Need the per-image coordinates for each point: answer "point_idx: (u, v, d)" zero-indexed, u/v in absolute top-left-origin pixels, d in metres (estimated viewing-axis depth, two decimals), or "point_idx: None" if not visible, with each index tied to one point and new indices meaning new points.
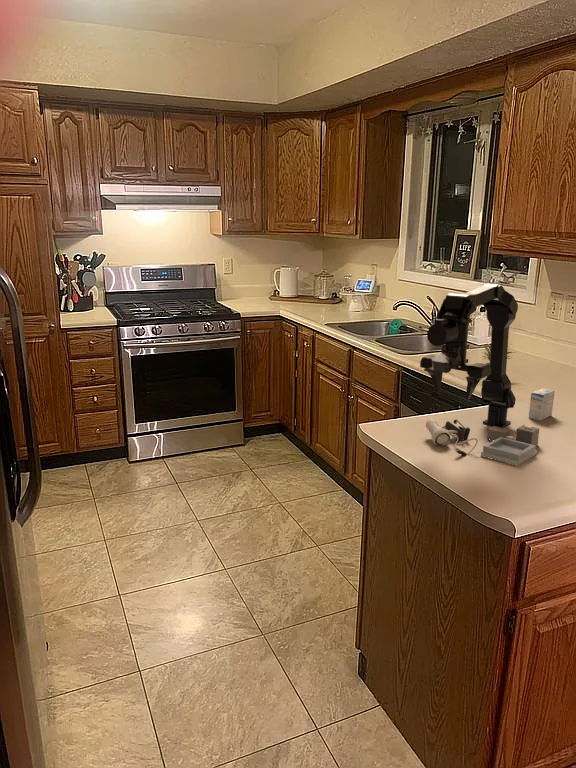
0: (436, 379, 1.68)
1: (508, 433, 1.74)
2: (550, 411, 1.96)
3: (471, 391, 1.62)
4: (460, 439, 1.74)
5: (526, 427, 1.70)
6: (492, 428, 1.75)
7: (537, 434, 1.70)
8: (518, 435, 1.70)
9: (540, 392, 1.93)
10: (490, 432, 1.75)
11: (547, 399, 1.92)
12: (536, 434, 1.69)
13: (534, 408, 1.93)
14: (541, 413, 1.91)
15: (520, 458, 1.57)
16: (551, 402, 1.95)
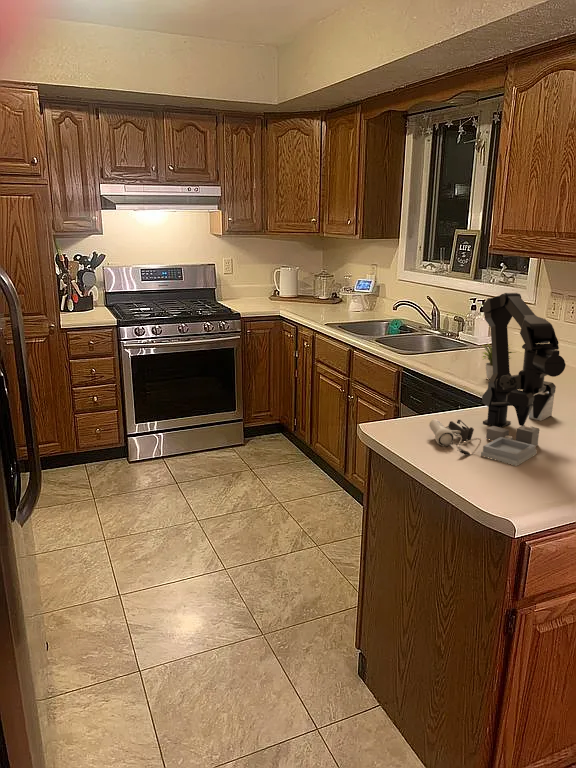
0: (534, 403, 1.73)
1: (507, 433, 1.74)
2: (550, 411, 1.96)
3: (520, 417, 1.65)
4: (463, 439, 1.74)
5: (526, 427, 1.70)
6: (491, 428, 1.75)
7: (537, 434, 1.70)
8: (518, 435, 1.70)
9: None
10: (489, 432, 1.75)
11: None
12: (536, 434, 1.69)
13: None
14: (541, 413, 1.91)
15: (520, 458, 1.57)
16: (551, 402, 1.95)
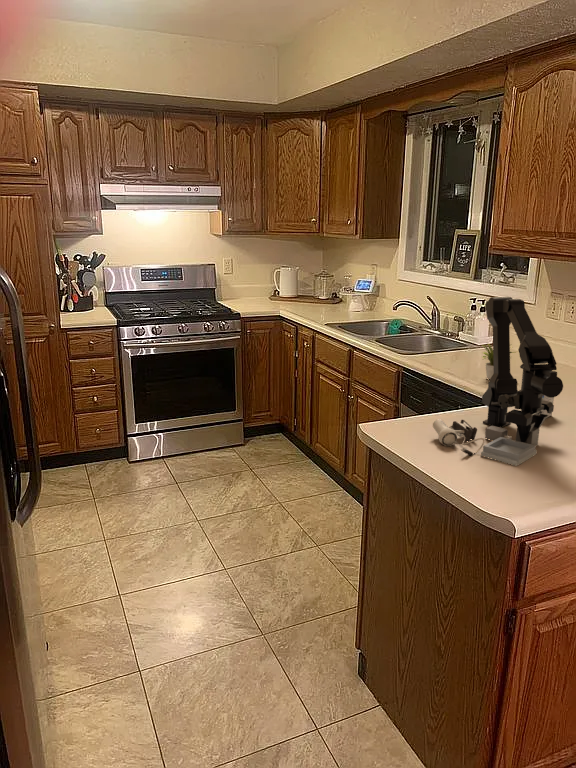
0: None
1: (506, 432, 1.74)
2: None
3: (522, 435, 1.68)
4: (467, 439, 1.74)
5: None
6: (490, 428, 1.76)
7: (537, 434, 1.70)
8: (518, 435, 1.70)
9: None
10: (488, 432, 1.75)
11: (547, 399, 1.92)
12: (536, 434, 1.69)
13: None
14: None
15: (520, 458, 1.57)
16: None
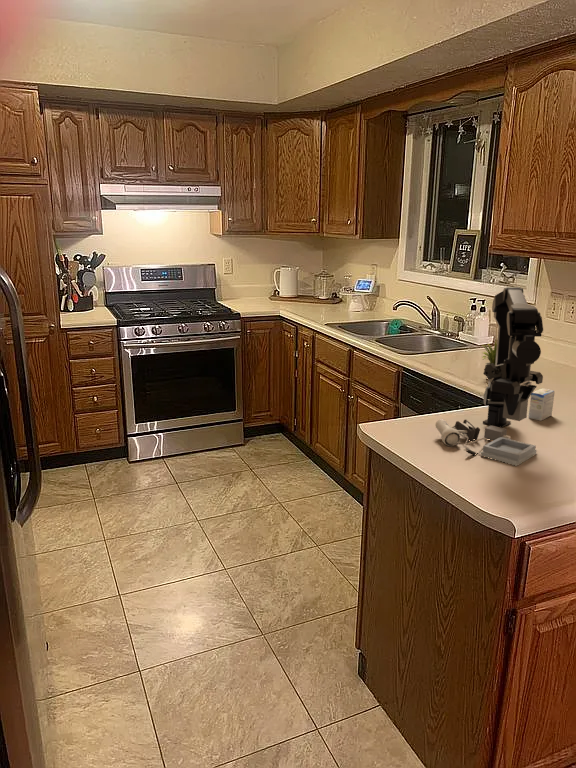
0: None
1: (505, 432, 1.74)
2: (550, 411, 1.96)
3: (509, 406, 1.58)
4: (470, 439, 1.74)
5: None
6: (489, 427, 1.76)
7: (526, 405, 1.60)
8: (506, 407, 1.60)
9: (540, 392, 1.93)
10: (487, 431, 1.75)
11: (547, 399, 1.92)
12: (525, 405, 1.59)
13: (534, 408, 1.93)
14: (541, 413, 1.91)
15: (520, 458, 1.57)
16: (551, 402, 1.95)
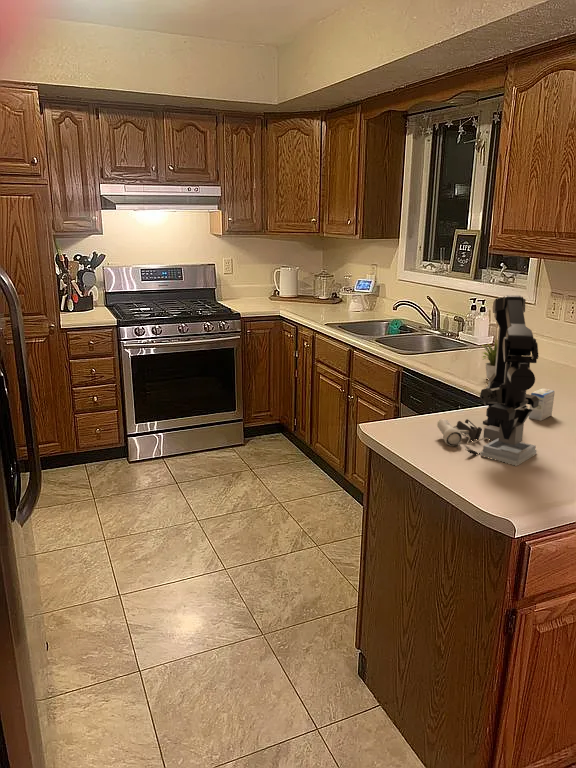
0: None
1: None
2: (550, 411, 1.96)
3: (505, 431, 1.60)
4: (472, 439, 1.74)
5: None
6: (488, 427, 1.76)
7: (521, 429, 1.61)
8: (501, 430, 1.62)
9: (540, 392, 1.93)
10: (486, 431, 1.75)
11: (547, 399, 1.92)
12: (520, 429, 1.61)
13: (534, 408, 1.93)
14: (541, 413, 1.91)
15: (520, 458, 1.57)
16: (551, 402, 1.95)
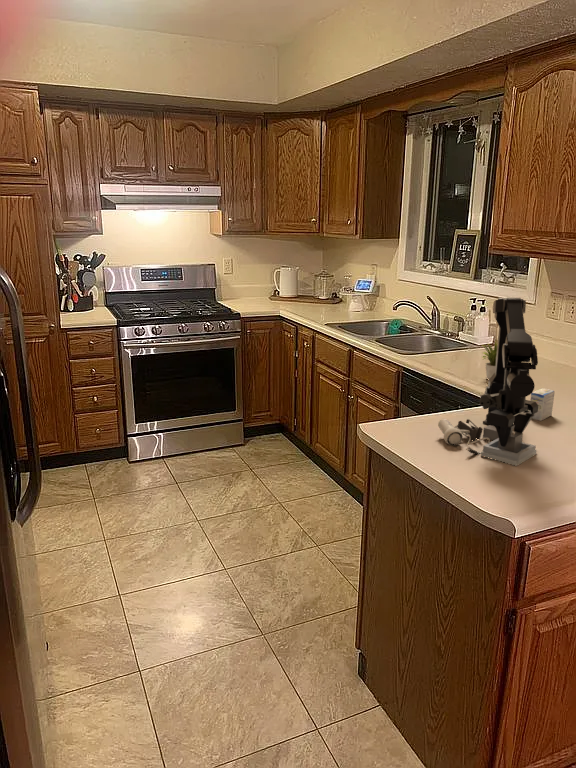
0: (515, 423, 1.65)
1: None
2: (550, 411, 1.96)
3: (502, 438, 1.59)
4: (472, 439, 1.74)
5: None
6: (488, 427, 1.76)
7: (520, 439, 1.62)
8: None
9: (540, 392, 1.93)
10: (486, 431, 1.75)
11: (547, 399, 1.92)
12: (519, 439, 1.62)
13: None
14: (541, 413, 1.91)
15: (520, 458, 1.57)
16: (551, 402, 1.95)
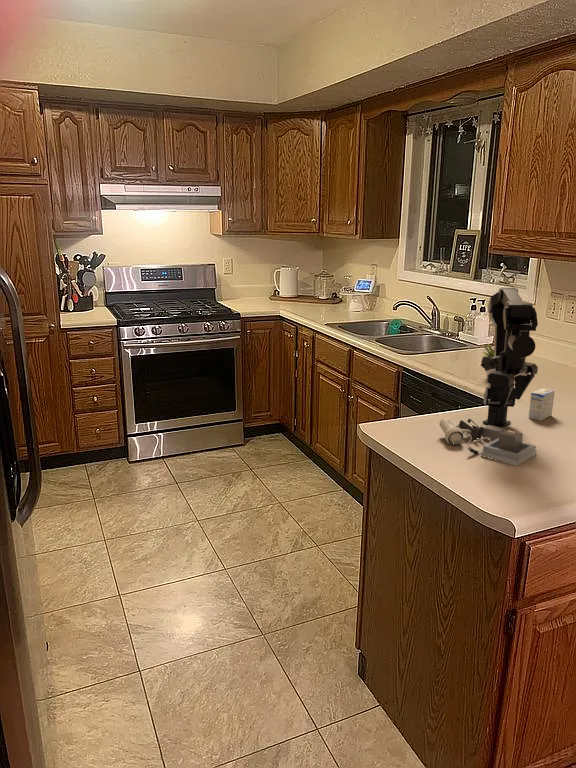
0: (516, 384, 1.72)
1: None
2: (550, 411, 1.96)
3: (501, 398, 1.65)
4: (473, 438, 1.75)
5: (509, 432, 1.62)
6: (487, 427, 1.76)
7: (520, 439, 1.62)
8: (500, 440, 1.62)
9: (540, 392, 1.93)
10: (485, 431, 1.76)
11: (547, 399, 1.92)
12: (519, 439, 1.62)
13: (534, 408, 1.93)
14: (541, 413, 1.91)
15: (520, 458, 1.57)
16: (551, 402, 1.95)
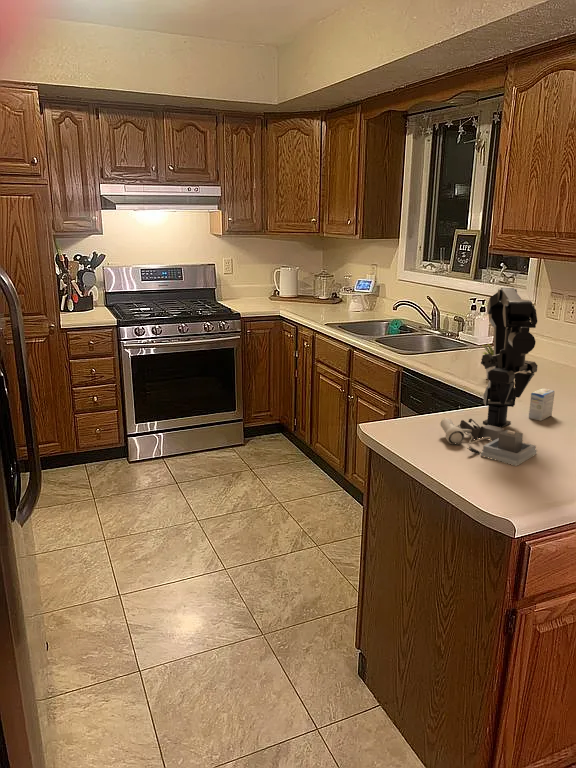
0: (516, 382, 1.73)
1: (502, 431, 1.75)
2: (550, 411, 1.96)
3: (501, 395, 1.66)
4: (474, 438, 1.75)
5: (509, 432, 1.62)
6: (486, 427, 1.76)
7: (520, 439, 1.62)
8: (500, 440, 1.62)
9: (540, 392, 1.93)
10: (484, 431, 1.76)
11: (547, 399, 1.92)
12: (519, 439, 1.62)
13: (534, 408, 1.93)
14: (541, 413, 1.91)
15: (520, 458, 1.57)
16: (551, 402, 1.95)
